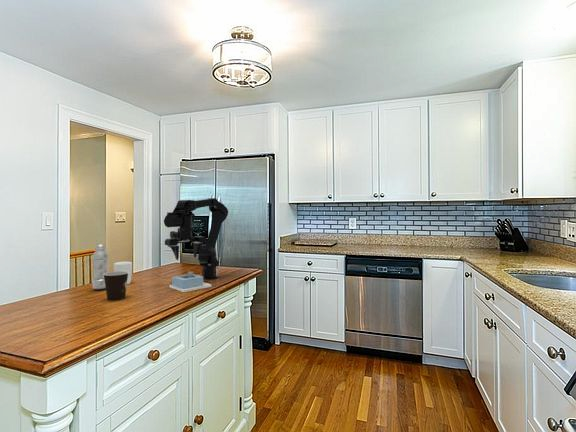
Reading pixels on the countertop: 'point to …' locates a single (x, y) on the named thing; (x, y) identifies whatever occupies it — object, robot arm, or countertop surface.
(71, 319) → the countertop surface
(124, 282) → the coffee mug
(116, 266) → the white cup
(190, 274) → the white base with peg
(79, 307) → the countertop surface
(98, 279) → the plastic bottle
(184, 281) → the loop frame
